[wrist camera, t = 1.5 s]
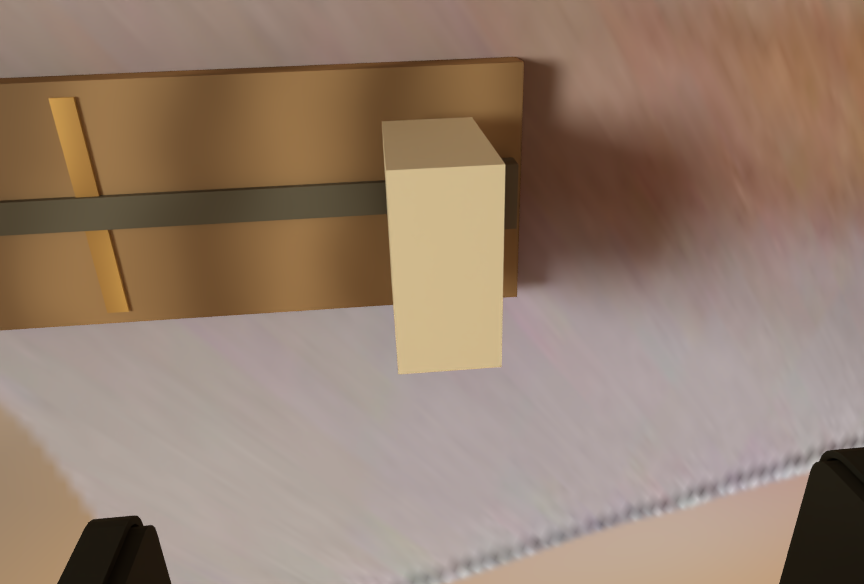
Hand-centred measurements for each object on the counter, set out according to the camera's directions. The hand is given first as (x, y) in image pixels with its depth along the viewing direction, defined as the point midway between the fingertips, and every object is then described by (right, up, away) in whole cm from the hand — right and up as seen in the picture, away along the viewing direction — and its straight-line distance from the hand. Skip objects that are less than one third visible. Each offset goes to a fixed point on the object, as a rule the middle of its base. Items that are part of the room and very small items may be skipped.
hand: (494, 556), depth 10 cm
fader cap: (-1, +7, +14) cm, 16 cm away
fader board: (-9, +8, +16) cm, 20 cm away
